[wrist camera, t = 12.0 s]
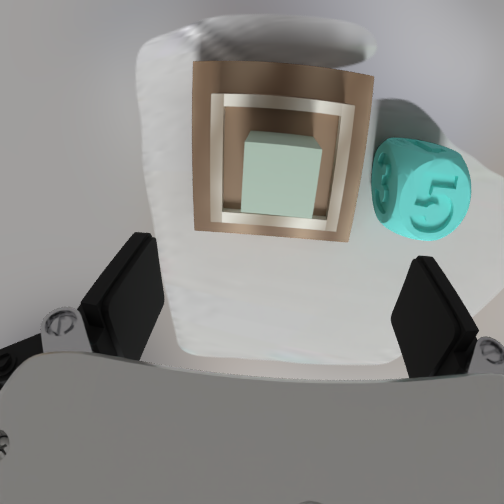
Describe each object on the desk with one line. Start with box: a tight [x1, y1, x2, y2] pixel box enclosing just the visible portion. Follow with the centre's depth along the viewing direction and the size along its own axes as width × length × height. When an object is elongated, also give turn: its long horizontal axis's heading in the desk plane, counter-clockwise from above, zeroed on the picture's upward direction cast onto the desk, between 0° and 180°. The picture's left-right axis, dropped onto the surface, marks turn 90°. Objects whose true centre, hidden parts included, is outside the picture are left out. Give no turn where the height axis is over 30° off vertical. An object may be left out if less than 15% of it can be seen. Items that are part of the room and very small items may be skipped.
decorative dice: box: [371, 138, 471, 241], centre depth 26 cm, size 8×8×8 cm
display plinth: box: [192, 61, 374, 242], centre depth 26 cm, size 16×17×7 cm
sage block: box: [241, 131, 322, 219], centre depth 22 cm, size 5×5×5 cm
